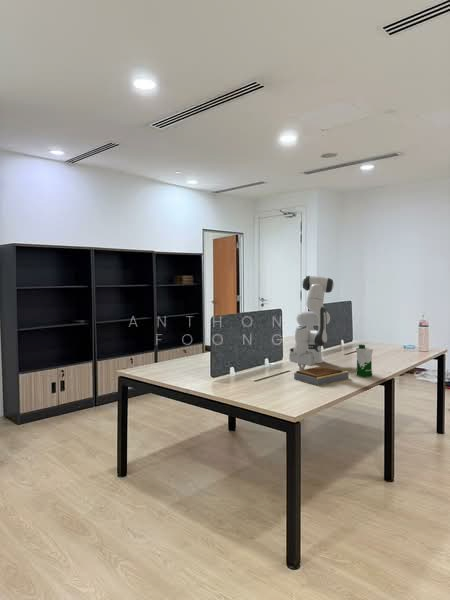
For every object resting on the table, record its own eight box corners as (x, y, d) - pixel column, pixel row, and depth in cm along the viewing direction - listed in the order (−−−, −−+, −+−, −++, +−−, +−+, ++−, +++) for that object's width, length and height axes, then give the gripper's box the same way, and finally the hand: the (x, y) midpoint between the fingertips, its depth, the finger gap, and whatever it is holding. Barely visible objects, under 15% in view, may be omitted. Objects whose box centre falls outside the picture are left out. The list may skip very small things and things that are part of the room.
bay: (294, 379, 268) (294, 372, 268) (324, 372, 285) (324, 366, 284) (318, 385, 252) (318, 378, 252) (348, 378, 268) (348, 371, 268)
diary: (320, 374, 283) (320, 366, 283) (342, 379, 268) (342, 370, 267) (295, 379, 270) (295, 370, 270) (317, 385, 254) (317, 375, 254)
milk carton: (364, 373, 281) (364, 344, 280) (374, 376, 273) (374, 345, 272) (354, 375, 277) (354, 345, 276) (364, 378, 269) (364, 347, 268)
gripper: (316, 351, 275) (316, 372, 276) (294, 347, 292) (294, 367, 293) (310, 352, 272) (310, 373, 272) (287, 348, 288) (287, 368, 289)
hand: (301, 370), depth 283 cm, fingers closed
